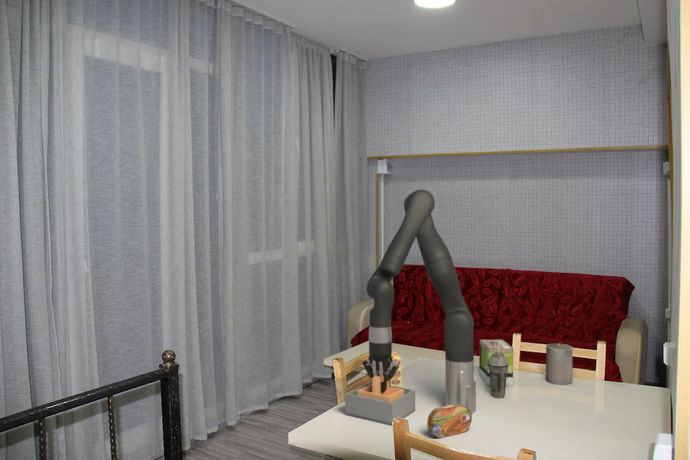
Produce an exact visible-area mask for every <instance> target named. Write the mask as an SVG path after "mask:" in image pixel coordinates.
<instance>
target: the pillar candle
mask: <svg viewBox="0 0 690 460" xmlns="http://www.w3.org/2000/svg"><path fill="white" fill-rule="evenodd" d="M573 347H574V346H571V345H569V344H566V343H565V344H564V343H556V342H555V343H548V344H546V346H545V382H547V383H549V384H552V385H558V386H564V385H565V386H566V385H570V384H572V383H573V349H574V348H573Z"/></svg>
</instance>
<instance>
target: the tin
mask: <svg viewBox="0 0 690 460" xmlns="http://www.w3.org/2000/svg"><path fill="white" fill-rule="evenodd" d="M472 418H473V417H472V414H471V411H470V409H469V408H468V407H467V406H465V405H461V404H453V405H449V406H441V407H437V408H434V409H432V410H431V412H429V414H428V417H427V421H426V422H427V423H426V424H427V425H426V426H427V430H428V431H429V433H430V434H431V435H433V436H434V437H436V438H439V439H444V438H447V437H453V436H456V435H460V434H463V433H466V432H467V431H468V430H469V428H470V427H471V424H472V420H473V419H472Z"/></svg>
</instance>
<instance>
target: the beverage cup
mask: <svg viewBox="0 0 690 460" xmlns="http://www.w3.org/2000/svg"><path fill="white" fill-rule="evenodd" d="M497 340H498V353H494V354H492V355H491V356H490V358H489V360H488V367H489V372H490V384H491V386H490V391H491V392H490V394H491V397H492V398H495V399H504V398H505V397H506V391H507V390H506V389H507V386H506V379H507V371H508V366H509V365H508V360H507V358H506V357H505V356H504V355H503V354H501V353H499V340H500V339H497Z"/></svg>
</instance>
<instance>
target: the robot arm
mask: <svg viewBox="0 0 690 460" xmlns="http://www.w3.org/2000/svg"><path fill="white" fill-rule="evenodd" d="M435 205H436V201H435V198H434V196H433V194H432V193H431V192H430V191H429V190H428V189H427V190H426V189H417V190H414V191H413V192H411V193H409V194H408V195H407V196H406V198H405V199H404V202H403V210H404V213H405V214H404V217H403V219H402V222H401V224H400V226H399V229H398V230H397V232H396V233H395V235H394V236H393V238H392V239H391V241H390V243H389V245H388V247H387V249H386V251H385V253H384V255H383V257H382V260H381V262H380V264H379V265H378V267H377V268H376V269H375V270H374V272H373V273H372V275H371V277H370V278H369V280H368V282H367V284H366V293H367V295H368V297H369V298H371V299H373V300H374V304H373V308H371V309H370V311H369V328H368V353H369V356H367V357H368V358H367V359H366V360H363V361H362V365H363V368H364V369H365V372H366V374H367V376H368V377H369V378H370V379H373V378H374V377H376V376H379V375H381V382H380V387H381V393H384V392H385V391H386V390H387V381H389V380H391V379H392V378H393V376H394V375H395V373H396V371H397V370H398V368H399V365H395V364H394V363H393V360H392V357H391V354H392V352H393V340H392V339H393V338H392V337H393V335H392V334H393V333H392V327H391V325H392V314H391V313H392V310H393V305H394V300H395V289H394V285H393V284H392V282H391V281H392V280H393V279H394V277H397V276H398V275H399V274H400V272H401V271H402V268H403V267H404V265H405V262H406V260H407V258H408V256H409V253H410V251H411V249H412V246H413V244H414V242H415V240H417V244H418V248H419V251H420V254H421V258H422V260H423V264H424V267H425V270H426V273H427V276H428V278H429V280H430V282H431V285H432V286H433V287H434V289H435V291H436V292H437V295H438V297H439V299H440V301H441V305H442V308H443V310H444V315H445V322H444V355H445V359H444V360H445V362H444V363H445V369H444V370H445V372H444V373H445V381H444V382H445V389H444V390H445V393H444V394H445V401H444V402H445V406H449V405H453V404H461V405H465V406H467V407H468V408H469V409H470V411H471V415H472V414H473V413H474V412H475V411H477V396H476V395H477V382H476V381H474V380H475V378H474V377H475V374H474V373H475V370H474V369H475V368H474V367H475V365H474V362H475V361H474V358H475V353H474V352H475V351H474V327H475V321H474V317H473V316H472V313H471V312H470V309H469V307H468V304H467V302H466V301H465V298H464V297H463V296H464V295H463V293H462V289H461V286H460V281H459V278H458V275H457V271H456V267H455V264H454V262H453V258H452V255H451V252H450V251H449V249H448V247H447V245H446V243H445V242H444V240H443V238H442V237H441V236H440V234H439V233H438V231H437V229H436V226H435V223H434V220H433V216H432V212H433V211H434V209H435ZM390 366H391V367H390ZM389 367H390V372H389V373H388V368H389ZM387 373H388V375H387ZM445 406H444V407H445Z"/></svg>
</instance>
